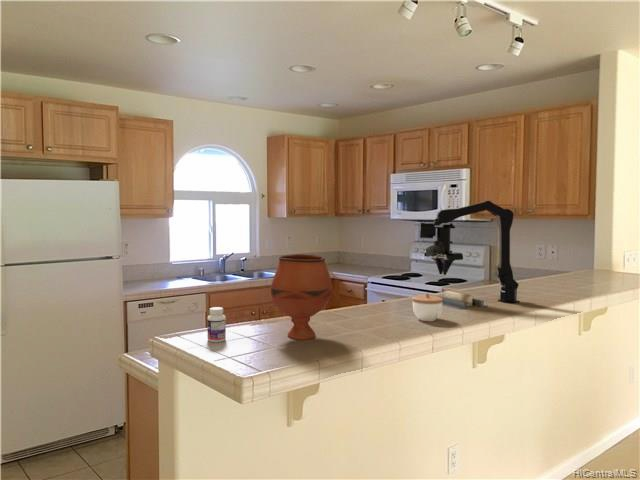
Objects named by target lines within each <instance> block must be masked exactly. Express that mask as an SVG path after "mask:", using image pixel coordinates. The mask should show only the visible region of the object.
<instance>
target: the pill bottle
mask: <svg viewBox="0 0 640 480" xmlns="http://www.w3.org/2000/svg"><path fill="white" fill-rule="evenodd" d="M223 313H224V308H223V307H221V306H213V307H210V308H209V315H208V316H207V328H206V329H207V341H208V342H209V343H222V342H224V341H225V340H226V339H227V338H226V337H227V336H226V335H227V333H226V332H227V330H226V322H227V320H226V319H227V318H226V315H224V314H223Z"/></svg>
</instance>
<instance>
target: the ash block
mask: <svg viewBox="0 0 640 480" xmlns="http://www.w3.org/2000/svg"><path fill="white" fill-rule="evenodd" d="M444 297H448V298H452V299H456V300H460V301H465V302H467V307H468V306H469V307H470V306H473V305H472V298H473V293H471V292H466V291H462V290H458V289H454V290H452V289H451V290H445V291H444Z"/></svg>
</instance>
